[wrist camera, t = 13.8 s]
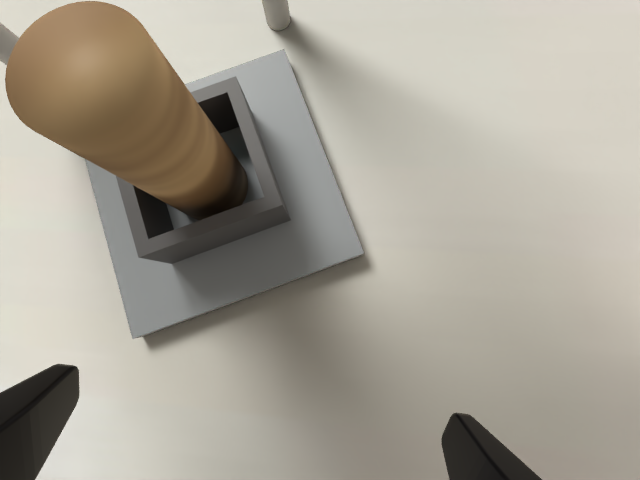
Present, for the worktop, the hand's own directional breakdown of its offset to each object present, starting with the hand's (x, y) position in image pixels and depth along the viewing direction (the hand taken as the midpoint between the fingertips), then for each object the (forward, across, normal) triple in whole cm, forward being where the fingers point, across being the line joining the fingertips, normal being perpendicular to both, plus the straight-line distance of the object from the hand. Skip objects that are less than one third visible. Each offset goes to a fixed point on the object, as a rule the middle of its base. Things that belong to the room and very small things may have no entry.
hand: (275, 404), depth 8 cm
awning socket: (+17, +6, -2) cm, 18 cm away
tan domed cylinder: (+15, +5, -1) cm, 15 cm away
